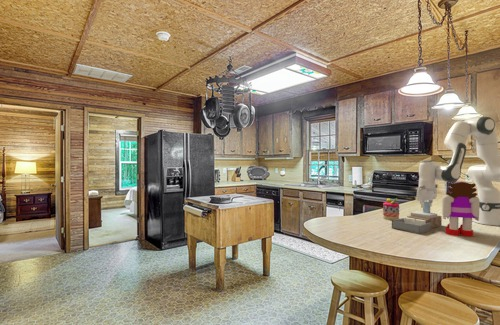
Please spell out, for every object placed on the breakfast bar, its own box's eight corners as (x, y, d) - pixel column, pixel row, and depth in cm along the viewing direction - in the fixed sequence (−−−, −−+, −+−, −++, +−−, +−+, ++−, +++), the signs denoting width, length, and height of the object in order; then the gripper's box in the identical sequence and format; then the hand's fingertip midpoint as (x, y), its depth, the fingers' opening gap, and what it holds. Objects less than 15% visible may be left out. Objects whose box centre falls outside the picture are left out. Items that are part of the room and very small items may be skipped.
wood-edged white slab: (421, 221, 187) (421, 213, 187) (441, 225, 177) (441, 216, 177) (406, 225, 175) (406, 216, 175) (427, 229, 165) (427, 219, 165)
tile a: (416, 219, 169) (414, 219, 168) (425, 220, 165) (423, 221, 164) (416, 227, 169) (414, 227, 168) (425, 228, 165) (423, 229, 164)
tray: (403, 225, 177) (403, 217, 177) (430, 230, 164) (431, 222, 164) (391, 228, 169) (391, 220, 169) (419, 233, 156) (419, 225, 156)
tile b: (406, 217, 174) (404, 217, 173) (414, 218, 170) (412, 219, 169) (406, 225, 174) (404, 225, 173) (414, 226, 170) (412, 227, 169)
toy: (474, 233, 157) (474, 181, 157) (482, 237, 149) (483, 182, 148) (438, 231, 162) (438, 180, 162) (444, 235, 153) (444, 181, 153)
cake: (382, 219, 195) (382, 198, 194) (383, 216, 204) (383, 196, 204) (399, 220, 189) (399, 199, 189) (399, 218, 199) (399, 197, 199)
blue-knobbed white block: (418, 214, 183) (418, 200, 183) (437, 216, 174) (437, 202, 174) (410, 215, 177) (410, 201, 177) (429, 218, 168) (429, 204, 168)
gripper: (424, 186, 169) (424, 209, 169) (439, 185, 181) (438, 206, 181) (413, 186, 174) (413, 207, 174) (428, 184, 186) (428, 205, 186)
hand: (426, 207), depth 178 cm, fingers open, 8 cm apart
